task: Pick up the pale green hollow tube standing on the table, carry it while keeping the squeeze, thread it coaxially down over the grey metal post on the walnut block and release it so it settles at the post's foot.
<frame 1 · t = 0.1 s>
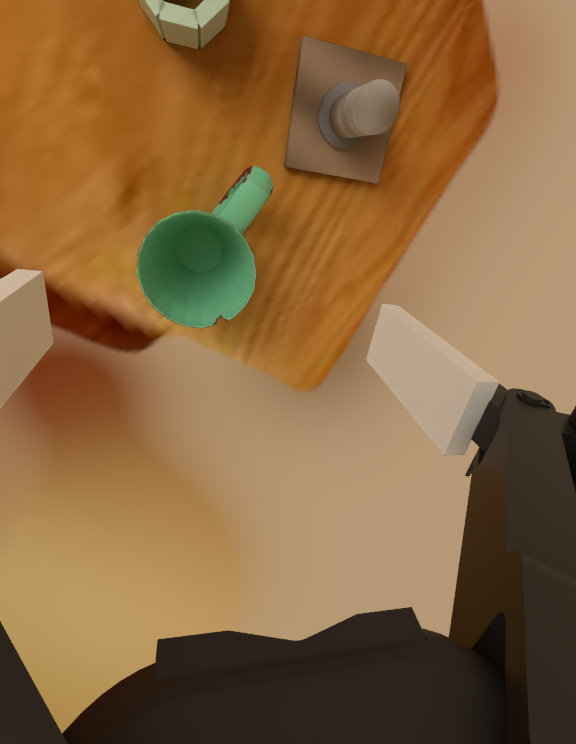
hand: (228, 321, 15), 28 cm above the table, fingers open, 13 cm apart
mug: (212, 229, 39), on the table
shaft block: (341, 117, 37), on the table
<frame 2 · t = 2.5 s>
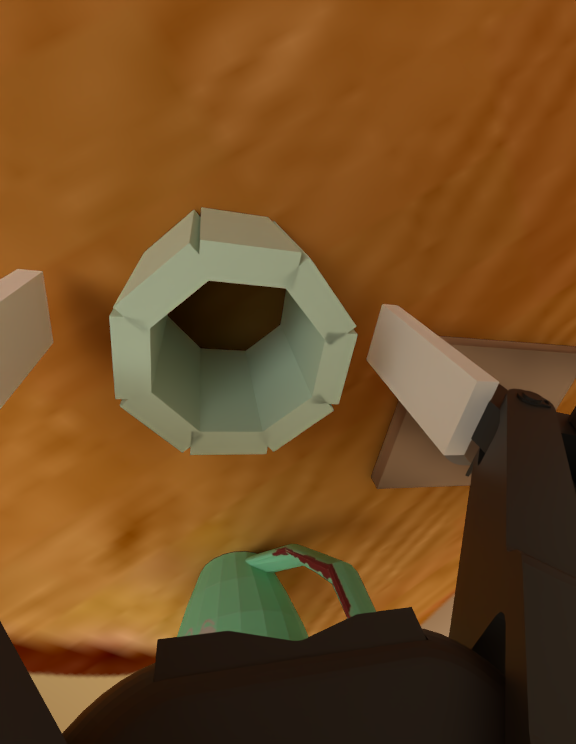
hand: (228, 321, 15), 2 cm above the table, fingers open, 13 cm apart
mug: (255, 550, 26), on the table
shaft block: (467, 415, 23), on the table
pale green hollow tube: (227, 298, 16), on the table
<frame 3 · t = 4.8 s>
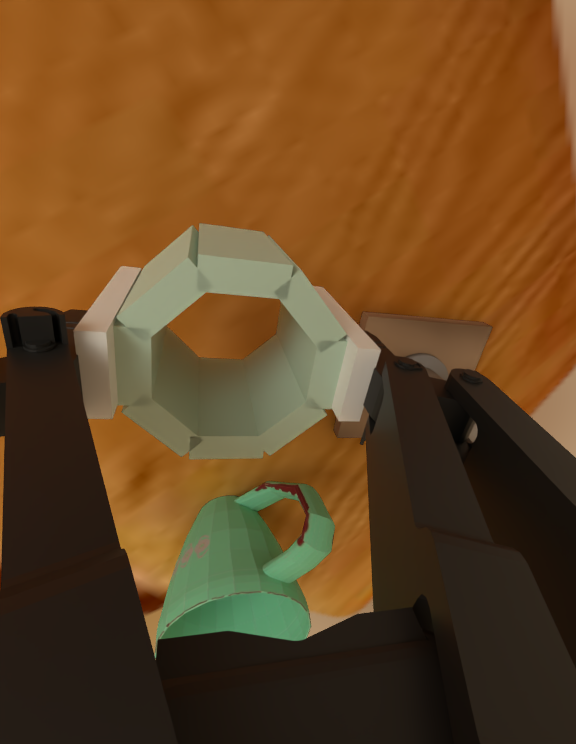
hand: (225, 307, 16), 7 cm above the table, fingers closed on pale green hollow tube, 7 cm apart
mug: (242, 495, 32), on the table
shaft block: (406, 377, 29), on the table
pale green hollow tube: (225, 309, 17), point 7 cm above the table, touching gripper
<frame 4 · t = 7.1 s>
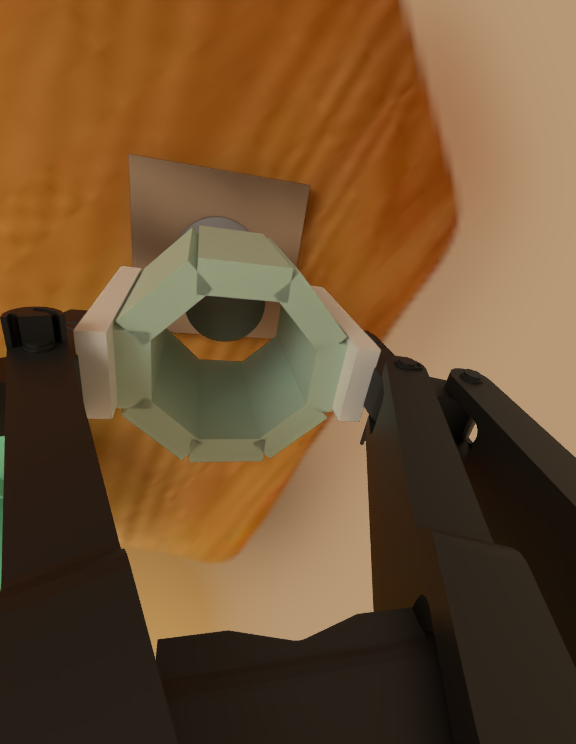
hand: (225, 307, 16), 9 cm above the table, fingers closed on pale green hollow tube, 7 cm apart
mug: (42, 405, 27), on the table
shaft block: (217, 257, 24), on the table
pale green hollow tube: (225, 311, 17), point 9 cm above the table, touching gripper
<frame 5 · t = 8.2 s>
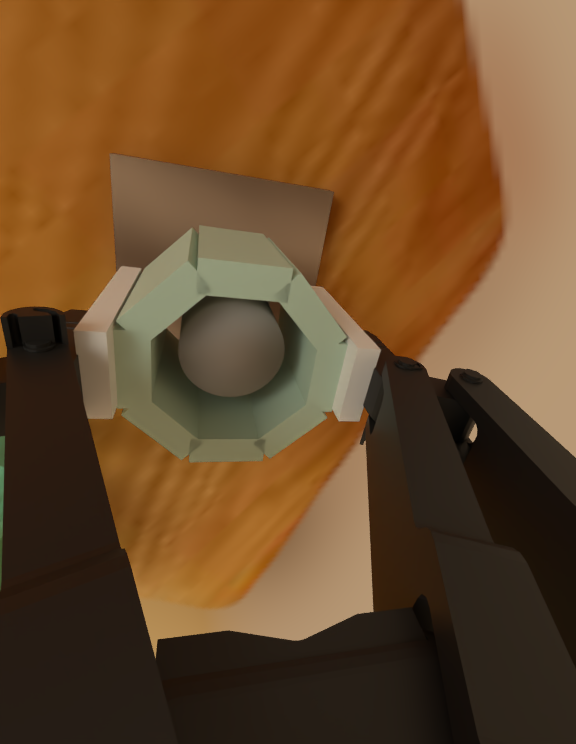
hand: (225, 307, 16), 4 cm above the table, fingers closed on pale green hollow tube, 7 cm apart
mug: (14, 449, 23), on the table
shaft block: (220, 277, 20), on the table
pale green hollow tube: (225, 311, 17), point 4 cm above the table, touching gripper
when the fingers open (3 cm above the table, at t = 9.4 s): pale green hollow tube stays where it is, resting on shaft block.
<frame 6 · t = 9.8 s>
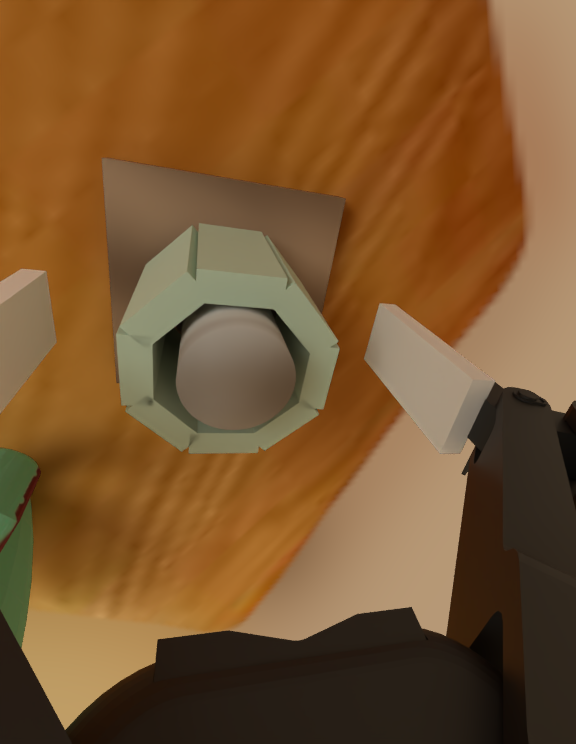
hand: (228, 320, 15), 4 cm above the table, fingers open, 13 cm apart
mug: (2, 472, 22), on the table
shaft block: (223, 290, 19), on the table
pale green hollow tube: (224, 305, 17), point 2 cm above the table, touching shaft block
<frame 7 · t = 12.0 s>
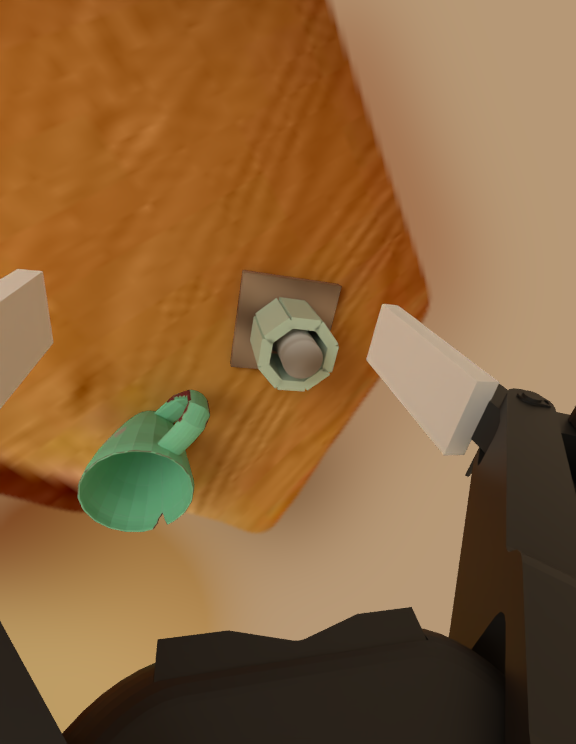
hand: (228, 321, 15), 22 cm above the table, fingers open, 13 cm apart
mug: (163, 412, 42), on the table
shaft block: (283, 324, 40), on the table
pale green hollow tube: (285, 331, 38), point 2 cm above the table, touching shaft block
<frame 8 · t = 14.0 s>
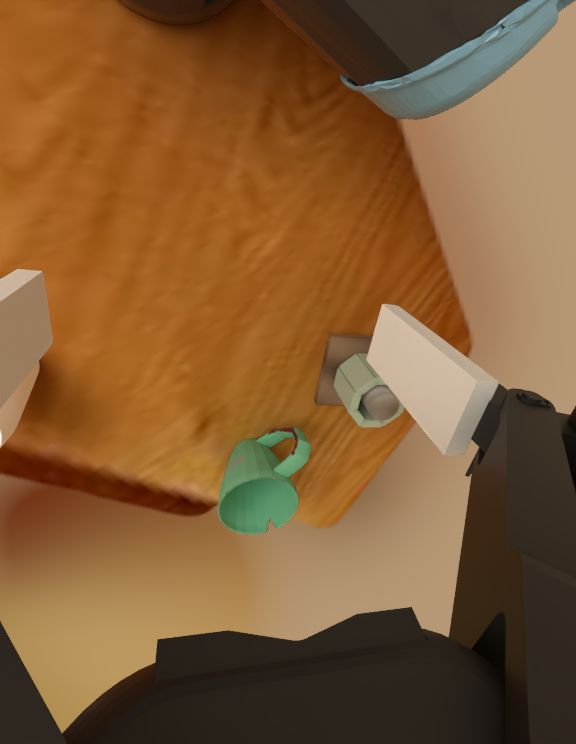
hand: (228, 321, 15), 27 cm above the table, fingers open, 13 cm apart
mug: (260, 439, 53), on the table
cup: (6, 360, 41), on the table
shaft block: (356, 369, 50), on the table
pale green hollow tube: (360, 377, 49), point 2 cm above the table, touching shaft block
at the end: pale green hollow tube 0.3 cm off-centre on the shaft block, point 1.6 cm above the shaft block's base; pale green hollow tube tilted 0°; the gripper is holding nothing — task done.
